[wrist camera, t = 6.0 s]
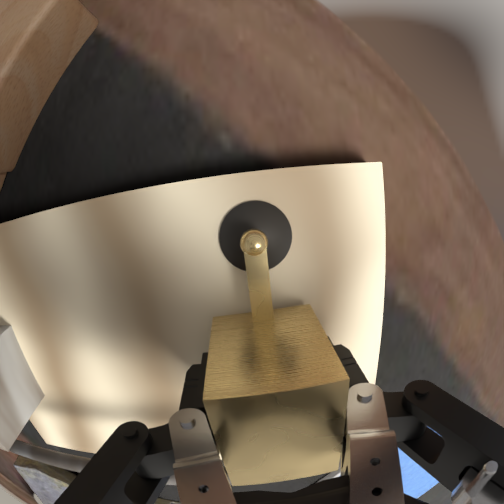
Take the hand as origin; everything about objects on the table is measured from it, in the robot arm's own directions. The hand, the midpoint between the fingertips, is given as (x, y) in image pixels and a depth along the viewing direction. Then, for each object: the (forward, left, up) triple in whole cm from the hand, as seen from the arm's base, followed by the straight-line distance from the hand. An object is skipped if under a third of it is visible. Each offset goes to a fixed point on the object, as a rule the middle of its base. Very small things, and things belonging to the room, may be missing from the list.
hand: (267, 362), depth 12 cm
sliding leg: (0, +2, 0) cm, 2 cm away
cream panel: (-6, 0, -2) cm, 6 cm away
